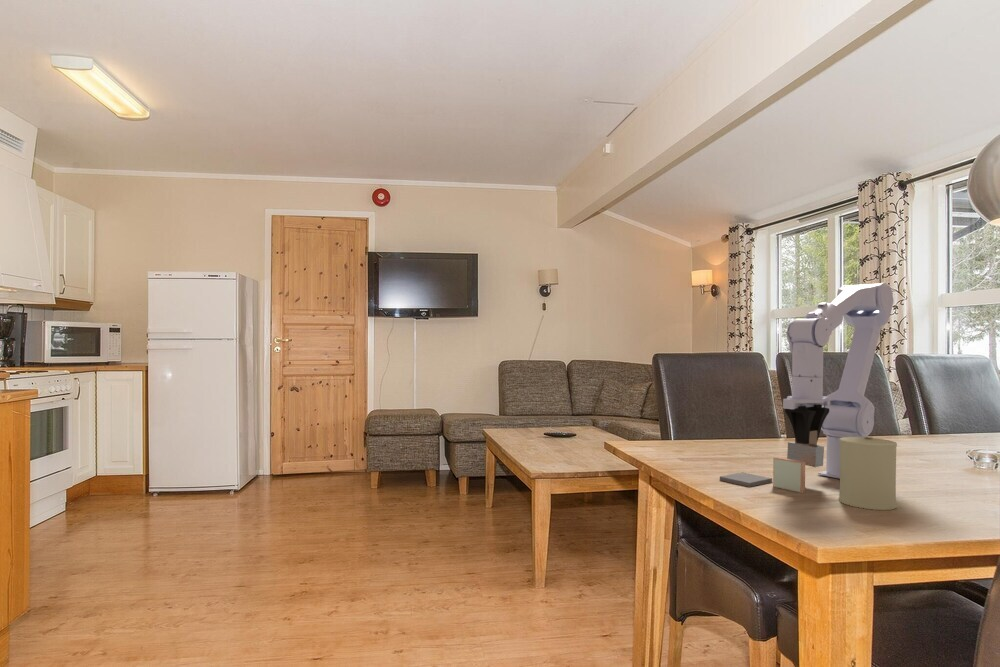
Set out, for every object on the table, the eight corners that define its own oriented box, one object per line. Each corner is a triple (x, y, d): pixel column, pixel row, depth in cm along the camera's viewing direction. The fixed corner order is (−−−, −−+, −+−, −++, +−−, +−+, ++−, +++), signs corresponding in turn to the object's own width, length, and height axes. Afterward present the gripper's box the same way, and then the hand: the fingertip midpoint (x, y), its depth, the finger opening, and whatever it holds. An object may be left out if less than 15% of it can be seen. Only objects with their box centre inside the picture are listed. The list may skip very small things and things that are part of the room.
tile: (776, 486, 128) (776, 456, 129) (805, 492, 124) (805, 461, 124) (772, 487, 128) (773, 457, 128) (801, 493, 123) (801, 462, 123)
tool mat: (742, 475, 138) (742, 472, 138) (772, 482, 132) (772, 478, 132) (719, 480, 133) (719, 476, 133) (749, 486, 127) (749, 483, 127)
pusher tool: (795, 459, 133) (796, 426, 133) (823, 465, 128) (824, 431, 128) (787, 461, 131) (788, 427, 131) (815, 467, 126) (816, 432, 126)
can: (895, 501, 117) (896, 437, 117) (897, 513, 109) (898, 444, 109) (839, 494, 122) (840, 432, 122) (837, 505, 114) (838, 439, 114)
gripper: (807, 374, 137) (807, 437, 137) (769, 376, 129) (768, 442, 129) (840, 376, 131) (839, 441, 131) (802, 378, 123) (801, 447, 123)
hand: (806, 442), depth 129 cm, fingers closed on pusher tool, 3 cm apart
